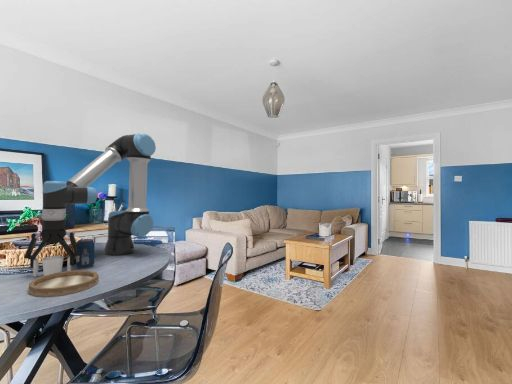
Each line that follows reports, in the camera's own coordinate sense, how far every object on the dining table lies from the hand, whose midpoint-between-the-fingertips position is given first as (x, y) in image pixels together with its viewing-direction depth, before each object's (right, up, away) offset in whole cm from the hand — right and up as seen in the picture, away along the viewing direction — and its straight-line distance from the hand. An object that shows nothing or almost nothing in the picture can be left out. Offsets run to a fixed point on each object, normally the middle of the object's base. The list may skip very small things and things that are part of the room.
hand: (52, 274), depth 105 cm
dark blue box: (+5, -1, +12) cm, 13 cm away
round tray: (+13, -1, -11) cm, 17 cm away
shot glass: (0, -1, 0) cm, 1 cm away
